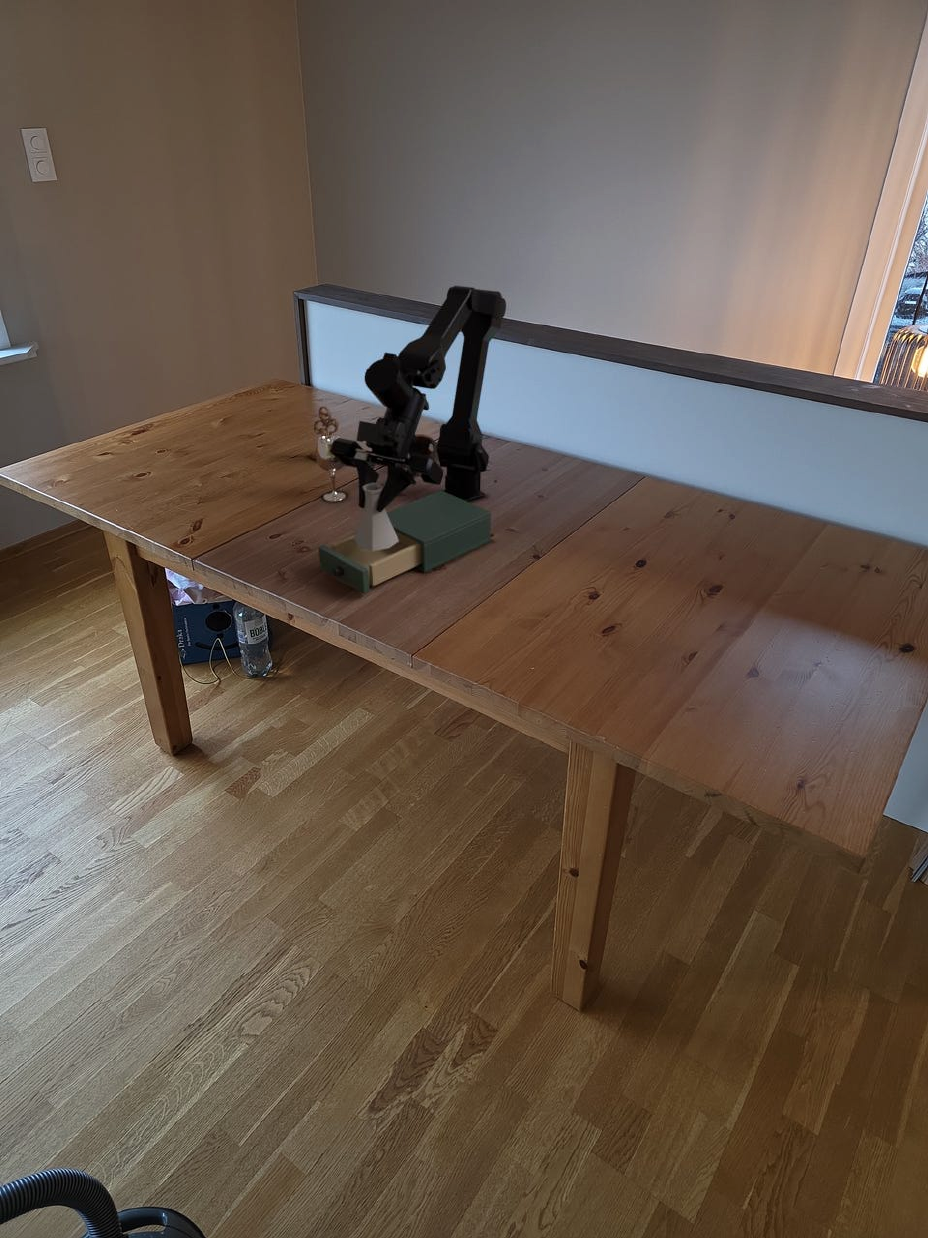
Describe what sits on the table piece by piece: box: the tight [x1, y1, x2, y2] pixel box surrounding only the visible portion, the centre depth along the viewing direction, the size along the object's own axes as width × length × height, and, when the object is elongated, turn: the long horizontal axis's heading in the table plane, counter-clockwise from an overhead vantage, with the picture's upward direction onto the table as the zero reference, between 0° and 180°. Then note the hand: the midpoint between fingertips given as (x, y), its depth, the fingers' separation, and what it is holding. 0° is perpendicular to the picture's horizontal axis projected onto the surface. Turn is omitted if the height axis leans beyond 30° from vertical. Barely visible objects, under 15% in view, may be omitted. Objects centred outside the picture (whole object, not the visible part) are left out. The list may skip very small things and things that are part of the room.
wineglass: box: [315, 435, 347, 502], centre depth 158 cm, size 6×6×12 cm
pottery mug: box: [407, 433, 439, 462], centre depth 174 cm, size 12×10×8 cm
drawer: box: [317, 531, 422, 595], centre depth 135 cm, size 17×12×4 cm
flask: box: [354, 482, 399, 551], centre depth 132 cm, size 7×7×10 cm
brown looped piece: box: [309, 406, 339, 461], centre depth 175 cm, size 9×4×12 cm, turn 47°
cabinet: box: [386, 490, 492, 573], centre depth 144 cm, size 16×13×6 cm
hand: (369, 509), depth 130 cm, fingers closed on flask, 3 cm apart
